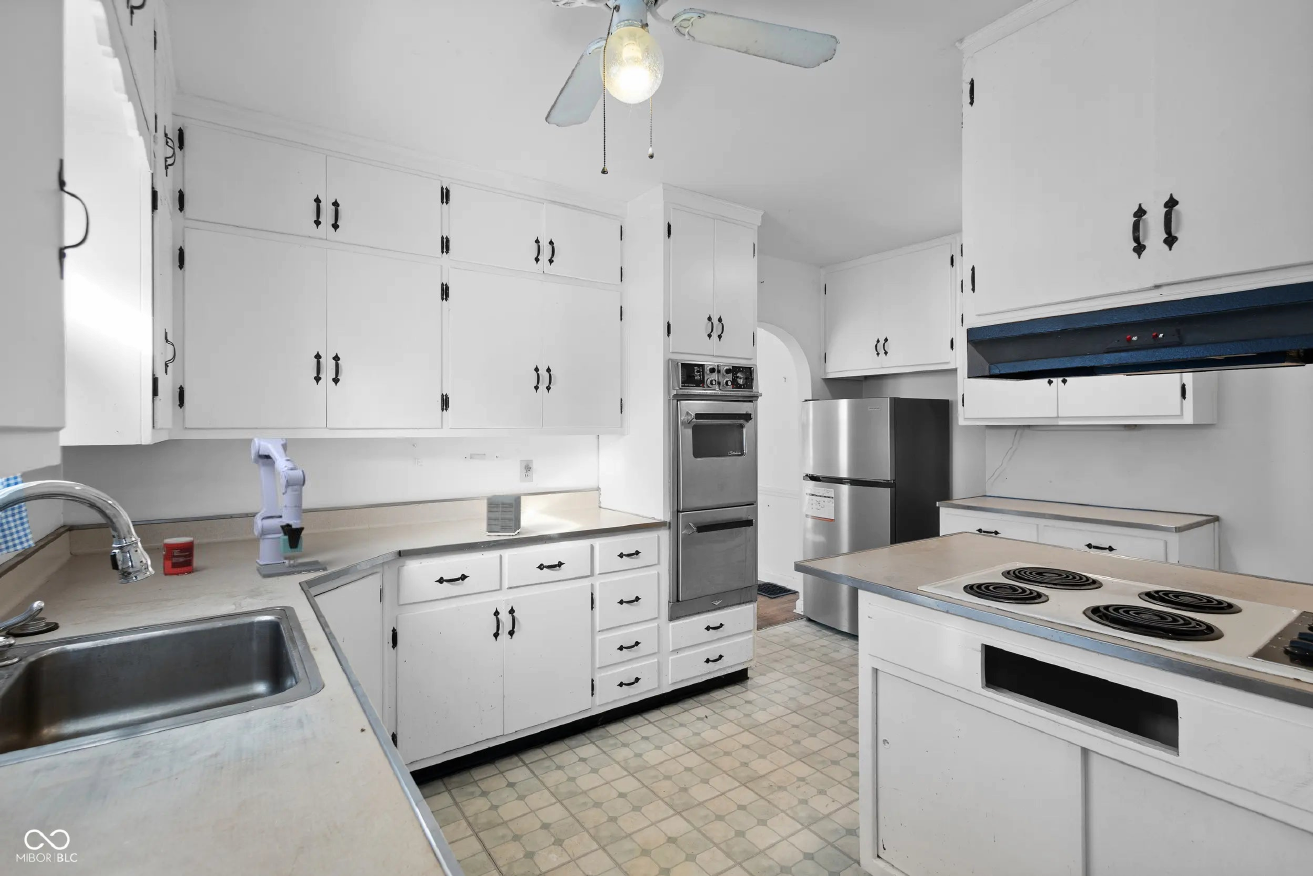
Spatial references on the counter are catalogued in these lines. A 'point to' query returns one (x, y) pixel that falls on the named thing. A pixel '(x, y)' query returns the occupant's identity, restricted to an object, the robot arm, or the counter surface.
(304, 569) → the stub plate
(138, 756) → the counter surface
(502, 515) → the supplement box
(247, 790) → the counter surface
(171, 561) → the canned food
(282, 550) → the housing cap
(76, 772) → the counter surface
